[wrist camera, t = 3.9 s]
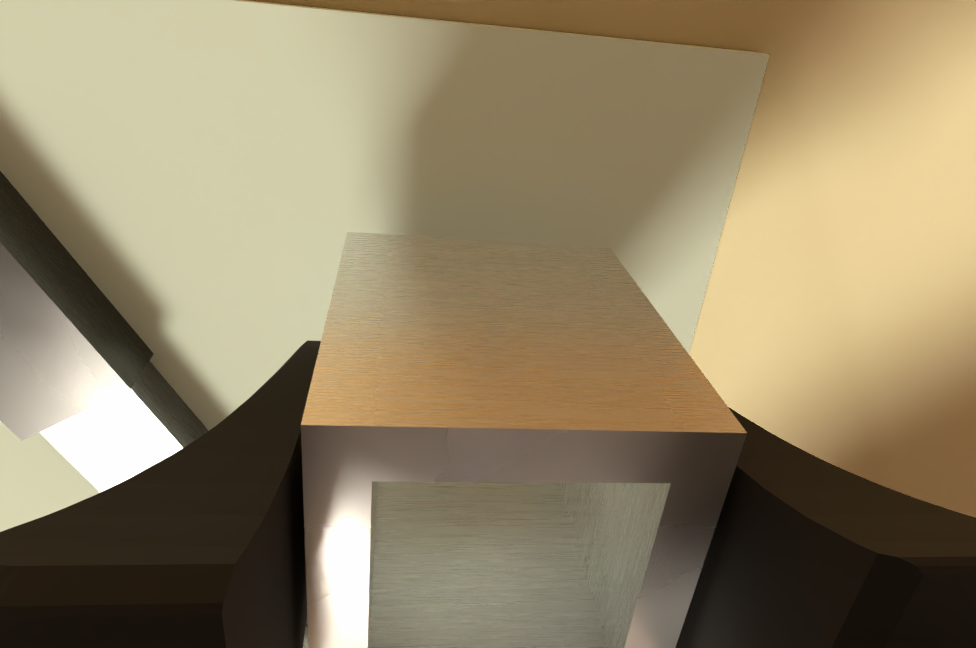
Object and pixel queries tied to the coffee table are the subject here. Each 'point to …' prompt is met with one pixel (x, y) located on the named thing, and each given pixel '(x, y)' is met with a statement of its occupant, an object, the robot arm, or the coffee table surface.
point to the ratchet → (78, 361)
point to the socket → (504, 452)
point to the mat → (339, 168)
